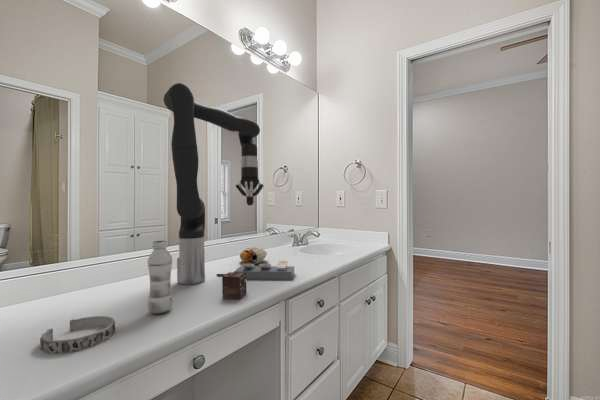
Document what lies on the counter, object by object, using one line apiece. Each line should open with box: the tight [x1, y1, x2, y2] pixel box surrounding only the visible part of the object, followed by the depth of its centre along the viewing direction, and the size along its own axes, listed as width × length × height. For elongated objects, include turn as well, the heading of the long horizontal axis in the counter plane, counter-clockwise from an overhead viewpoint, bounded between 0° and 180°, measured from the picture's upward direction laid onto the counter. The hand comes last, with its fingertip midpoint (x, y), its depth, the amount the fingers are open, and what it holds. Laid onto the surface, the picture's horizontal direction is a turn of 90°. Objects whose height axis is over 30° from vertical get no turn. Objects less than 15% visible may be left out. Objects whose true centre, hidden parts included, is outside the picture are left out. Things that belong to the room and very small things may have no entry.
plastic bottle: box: [147, 240, 174, 315], centre depth 82 cm, size 6×7×20 cm
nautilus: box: [239, 246, 268, 265], centre depth 142 cm, size 8×22×15 cm
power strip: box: [215, 265, 295, 281], centre depth 118 cm, size 32×9×3 cm, turn 85°
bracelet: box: [39, 315, 116, 355], centre depth 67 cm, size 14×14×3 cm
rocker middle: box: [258, 263, 272, 268], centre depth 117 cm, size 4×6×2 cm, turn 175°
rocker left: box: [241, 262, 255, 268], centre depth 118 cm, size 4×6×2 cm, turn 175°
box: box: [221, 271, 248, 301], centre depth 94 cm, size 6×6×7 cm
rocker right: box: [276, 260, 288, 270], centre depth 117 cm, size 4×6×2 cm, turn 175°
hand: (250, 205), depth 130 cm, fingers closed
